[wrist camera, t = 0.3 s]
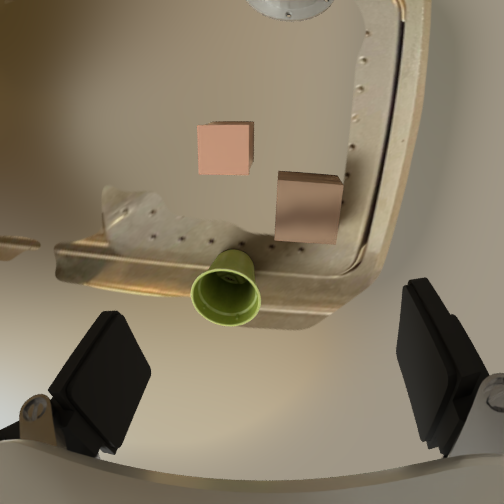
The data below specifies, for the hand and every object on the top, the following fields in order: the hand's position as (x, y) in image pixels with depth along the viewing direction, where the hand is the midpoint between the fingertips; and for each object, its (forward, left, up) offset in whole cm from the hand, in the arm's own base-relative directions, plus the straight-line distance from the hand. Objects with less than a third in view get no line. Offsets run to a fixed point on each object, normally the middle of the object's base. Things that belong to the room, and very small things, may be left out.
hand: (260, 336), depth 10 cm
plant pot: (+18, -6, -35) cm, 39 cm away
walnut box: (+7, +4, -35) cm, 35 cm away
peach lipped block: (-1, -6, -34) cm, 35 cm away
